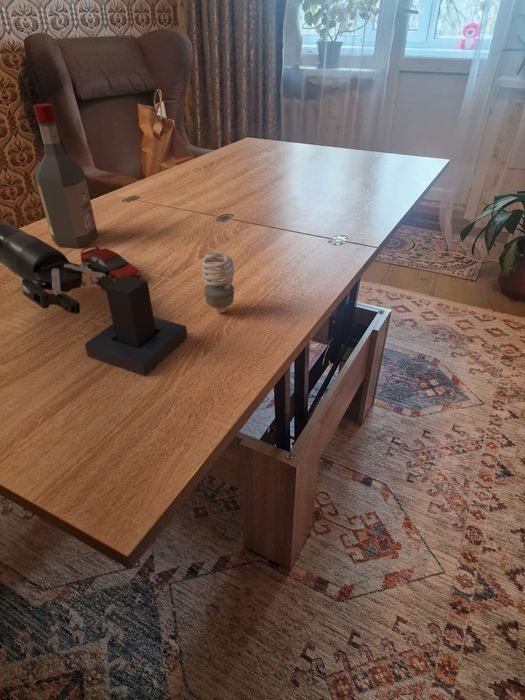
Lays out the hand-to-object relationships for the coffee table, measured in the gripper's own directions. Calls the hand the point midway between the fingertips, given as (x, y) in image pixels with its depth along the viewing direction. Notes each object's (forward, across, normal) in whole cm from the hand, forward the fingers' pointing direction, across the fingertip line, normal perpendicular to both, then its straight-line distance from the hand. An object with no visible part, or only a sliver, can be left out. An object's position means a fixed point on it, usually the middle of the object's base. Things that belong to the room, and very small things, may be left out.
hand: (98, 300), depth 80 cm
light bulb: (+14, +17, +3) cm, 22 cm away
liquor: (-35, +26, +12) cm, 45 cm away
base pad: (+9, +1, +5) cm, 10 cm away
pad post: (+9, +1, +5) cm, 10 cm away
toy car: (-14, +17, +8) cm, 24 cm away
